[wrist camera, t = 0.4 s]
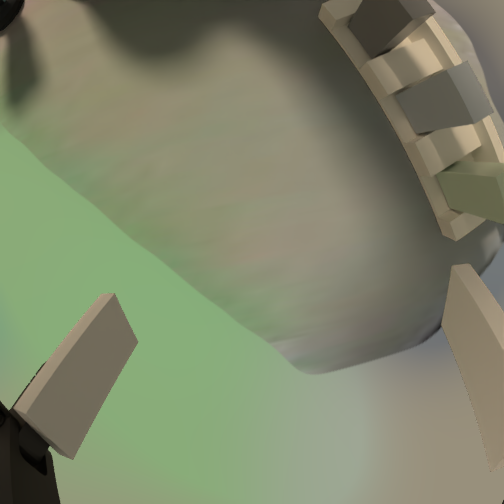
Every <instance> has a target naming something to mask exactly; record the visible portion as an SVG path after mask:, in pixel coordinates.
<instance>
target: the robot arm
mask: <svg viewBox="0 0 504 504" xmlns="http://www.w3.org/2000/svg"><path fill="white" fill-rule="evenodd" d="M441 326H442V328H443V331H444V333H445V335H446V338H447V340H448V342H449V345H450V347H451V349H452V352H453V355H454V357H455V360H456V362H457V365H458V367H459V370H460V373H461V375H462V378H463V381H464V383H465V386H466V389H467V392H468V395H469V398H470V400H471V404H472V407H473V410H474V413H475V416H476V420H477V423H478V426H479V430H480V433H481V436H482V440H483V444H484V448H485V452H486V456H487V460H488V464H489V468H490V472H492V471H494V470H497V469H499V468H502V467H504V312H503V310H502V309H501V307H500V305H499V304H498V303H497V301H496V300H495V298H494V297H493V295H492V294H491V292H490V291H489V290H488V288H487V287H486V285H485V284H484V283H483V281H482V280H481V278H480V277H479V276H478V274H477V273H476V272H475V270H474V269H473V268H472V266H471V265H470V264H469V263H467V264H460V265H452V267H451V274H450V280H449V286H448V292H447V298H446V303H445V308H444V313H443V318H442V323H441ZM137 343H138V341H137V338H136V336H135V335H134V333H133V330H132V328H131V327H130V325H129V322H128V321H127V319H126V316H125V314H124V312H123V310H122V308H121V306H120V304H119V302H118V299H117V297H116V295H115V293H109V294H101V295H100V296H99V298H97V300H96V301H95V302H94V303H93V304H92V305H91V307H90V308H89V309H88V310H87V312H86V313H85V314H84V315H83V316H82V317H81V319H80V320H79V321H78V322H77V324H76V325H75V326H74V327H73V329H72V330H71V331H70V332H69V333H68V335H67V336H66V338H65V339H64V340H63V341H62V342H61V344H60V345H59V346H58V348H57V349H56V350H55V352H54V353H53V354H52V355H51V357H50V358H49V359H48V360H47V361H46V362H45V363H44V364H43V365H42V366H41V367H40V369H39V370H38V372H37V373H36V376H34V377H33V378H32V380H31V381H30V382H31V383H29V384H28V385H27V386H26V388H25V389H24V391H23V392H22V394H21V395H20V396H19V398H18V399H17V401H16V402H15V404H14V405H13V406H12V408H11V409H10V410H8V409H7V408H6V407H5V406H4V405H3V404H2V403H1V401H0V504H60V499H59V494H58V489H57V484H56V478H55V473H54V466H53V460H52V455H51V453H50V452H49V451H48V448H49V446H51V447H52V448H53V449H54V450H55V451H56V452H57V453H59V454H60V455H62V456H65V457H67V458H70V459H72V460H73V459H74V457H75V455H76V453H77V451H78V449H79V447H80V445H81V444H82V442H83V440H84V438H85V436H86V434H87V432H88V430H89V428H90V427H91V425H92V423H93V421H94V419H95V417H96V415H97V414H98V412H99V410H100V408H101V406H102V405H103V403H104V401H105V399H106V397H107V396H108V394H109V392H110V390H111V388H112V387H113V385H114V383H115V381H116V380H117V378H118V376H119V374H120V373H121V371H122V369H123V367H124V366H125V364H126V362H127V360H128V359H129V357H130V355H131V354H132V352H133V350H134V348H135V347H136V345H137ZM502 504H504V500H503V503H502Z"/></svg>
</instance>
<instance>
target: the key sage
mask: <svg viewBox="0 0 504 504" xmlns="http://www.w3.org/2000/svg"><path fill="white" fill-rule="evenodd" d="M436 176H437V178H438V181H439V183H440V185H441V188H442V190H443V192H444V195H445V197H446V200H447V202H448V205H449V208H451V209H455V210H458V211H462V212H465V213H468V214H472V215H475V216H478V217H481V218H485V219H488V220H491V221H494V222H497V223H500V224H503V225H504V163H494V162H471V161H456V162H454V163H453V164H451V165H450V166H448V167H446V168H445V169H443V170H442V171H440V172H439V173H437V174H436Z"/></svg>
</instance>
